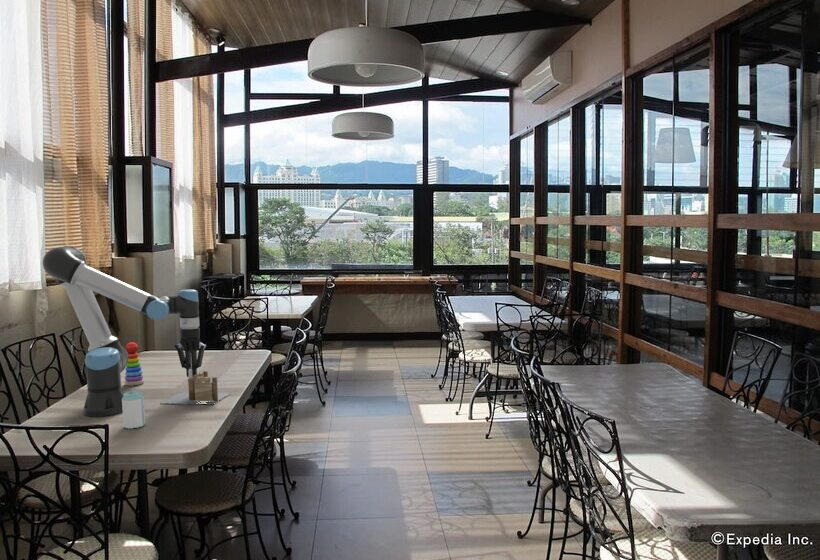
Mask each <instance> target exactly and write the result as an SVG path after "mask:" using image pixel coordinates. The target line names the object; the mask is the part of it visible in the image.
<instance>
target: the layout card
mask: <svg viewBox="0 0 820 560" xmlns="http://www.w3.org/2000/svg"><path fill="white" fill-rule="evenodd" d="M229 394H230V395H231V393H226V392H225V393H223V392H218V401H219V400H221V399H222V398H224V397H225V398H227V397H228V396H227V395H229ZM230 395H229V396H230ZM226 396H227V397H226ZM225 398H224V399H225ZM222 400H223V399H222ZM222 400H221V401H222ZM218 401H210V402H209V401H208V402H206V403H207V404H212V405H211V406H214V405H215V404H214V403H216V402H217V403H219V402H220V401H219V402H218ZM198 402H200V401H198ZM198 402H197V401H195V400H194V401H189V392H179V393H177V394H174V395H173V396H171V397H169V398H166V399H165V400H164V401H162V402H160V405H162V404H161V403H171V404H170V405H178V404H196V403H198ZM200 403H201V402H200ZM217 403H216V404H217ZM198 404H199V403H198ZM213 404H214V405H213Z"/></svg>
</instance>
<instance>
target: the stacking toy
mask: <svg viewBox="0 0 820 560" xmlns="http://www.w3.org/2000/svg"><path fill="white" fill-rule="evenodd" d="M138 349H139V346H138V344H137V343H136V342H133V341H132V342H131V341H130V342H127V344H126V346H125V350H126V352H127V354H128V362H127V365H126V367H125V377H124V380H125V381H124V384H125V386H129V387H130V386H132V387H134V385H135V386H139V385H140V386H141V385H142V384H144V383H145V380H144V375H143V370H142V366H141V362H140V358H139V353H138Z"/></svg>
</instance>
